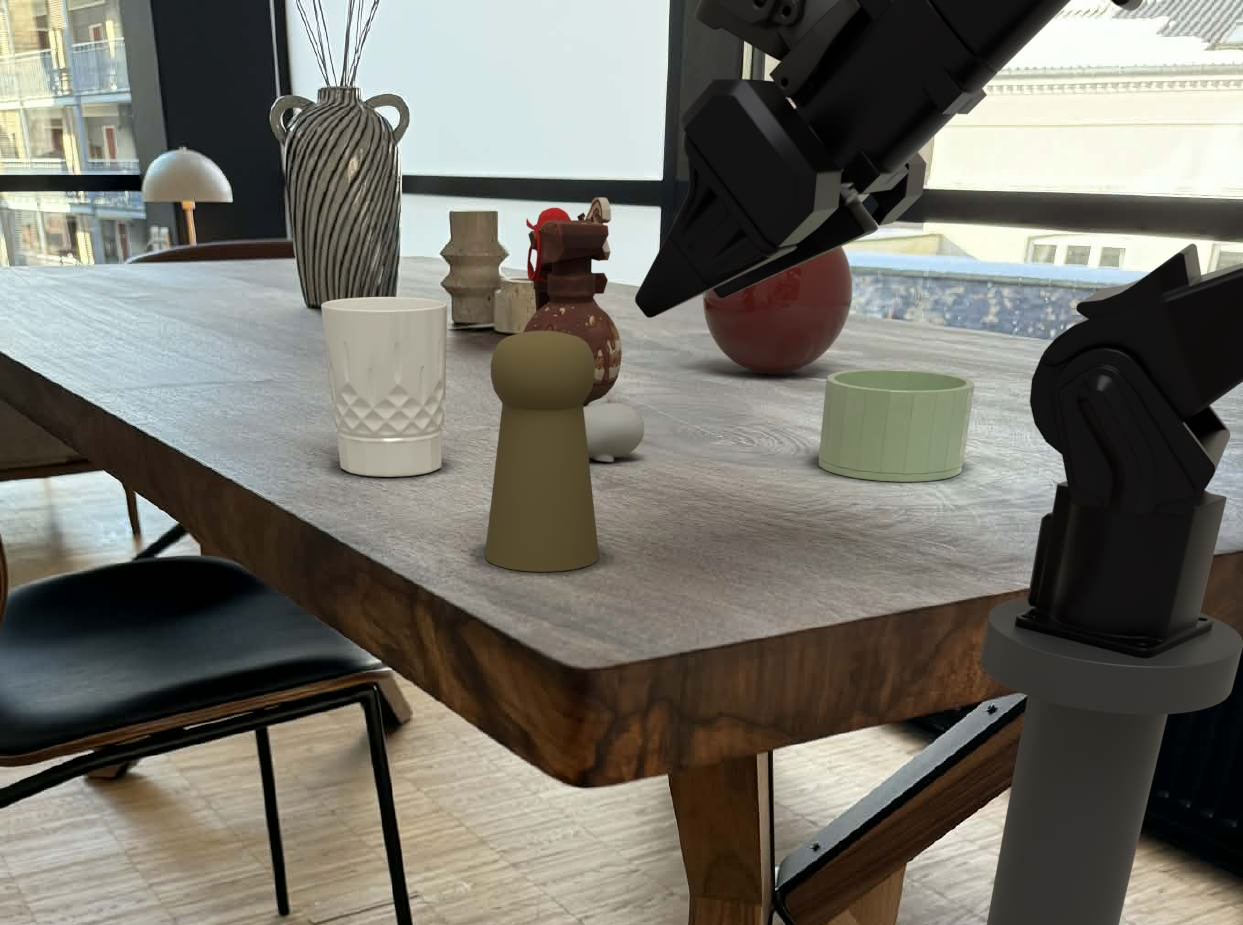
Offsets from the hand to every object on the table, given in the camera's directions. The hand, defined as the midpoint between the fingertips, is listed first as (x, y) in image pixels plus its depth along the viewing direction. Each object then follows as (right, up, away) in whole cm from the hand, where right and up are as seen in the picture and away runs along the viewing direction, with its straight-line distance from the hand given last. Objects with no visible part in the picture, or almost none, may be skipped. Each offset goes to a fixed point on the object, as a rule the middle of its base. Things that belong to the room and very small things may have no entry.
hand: (680, 299), depth 68 cm
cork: (-6, -10, +9) cm, 15 cm away
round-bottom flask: (+14, +22, +65) cm, 70 cm away
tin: (+17, +2, +29) cm, 34 cm away
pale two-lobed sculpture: (-4, +2, +31) cm, 31 cm away
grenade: (-4, +13, +49) cm, 51 cm away
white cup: (-16, +1, +28) cm, 33 cm away
